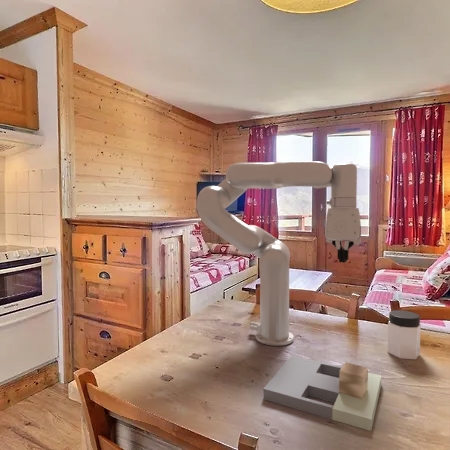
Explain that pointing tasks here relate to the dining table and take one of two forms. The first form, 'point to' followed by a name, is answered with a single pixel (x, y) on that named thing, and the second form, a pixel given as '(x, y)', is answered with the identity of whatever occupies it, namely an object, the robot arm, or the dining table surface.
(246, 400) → the dining table surface
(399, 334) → the jar
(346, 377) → the birch block
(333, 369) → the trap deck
